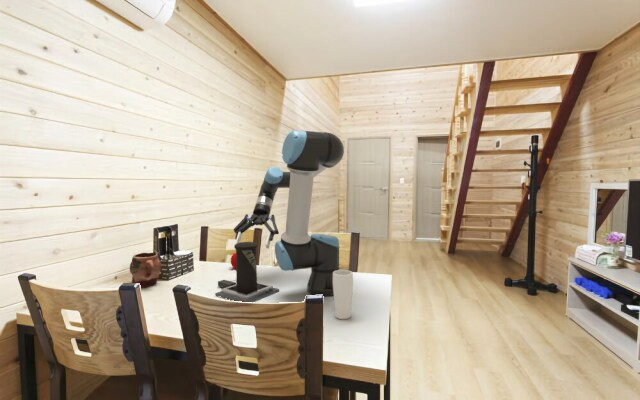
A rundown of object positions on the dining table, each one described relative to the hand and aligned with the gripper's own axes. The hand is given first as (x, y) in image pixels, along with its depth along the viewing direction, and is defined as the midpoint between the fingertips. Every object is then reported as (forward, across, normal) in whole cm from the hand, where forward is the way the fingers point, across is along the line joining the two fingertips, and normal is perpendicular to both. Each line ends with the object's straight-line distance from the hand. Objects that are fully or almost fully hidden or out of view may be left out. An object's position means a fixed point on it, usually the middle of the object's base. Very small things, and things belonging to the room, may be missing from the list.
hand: (251, 246), depth 136 cm
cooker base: (+16, +3, -10) cm, 19 cm away
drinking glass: (+30, -41, +4) cm, 51 cm away
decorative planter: (+15, +49, -11) cm, 52 cm away
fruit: (-9, +20, -35) cm, 41 cm away
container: (+17, 0, -8) cm, 18 cm away
